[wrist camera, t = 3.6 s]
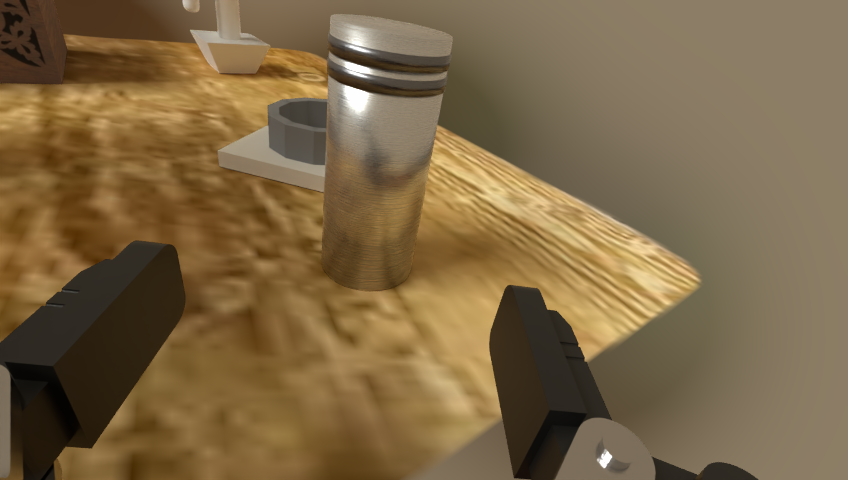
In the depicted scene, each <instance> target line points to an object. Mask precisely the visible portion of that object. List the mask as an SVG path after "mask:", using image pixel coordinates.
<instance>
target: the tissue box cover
mask: <svg viewBox="0 0 848 480" xmlns="http://www.w3.org/2000/svg"><path fill="white" fill-rule="evenodd" d="M66 55H67V47H66V43H65V40H64V36H63V33H62V29H61V25H60V22H59V18H58V14H57V11H56V7H55V4H54V0H0V83H24V84H62V83H63V76H64V69H65V62H66Z"/></svg>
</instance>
